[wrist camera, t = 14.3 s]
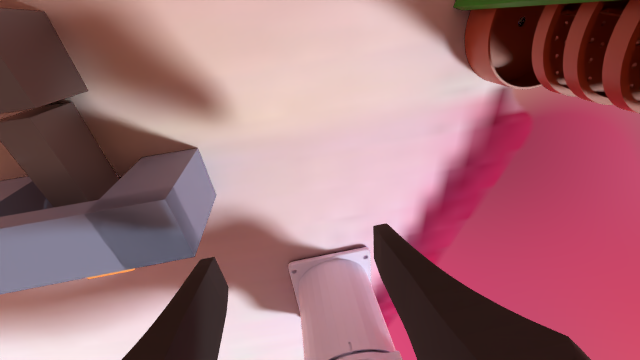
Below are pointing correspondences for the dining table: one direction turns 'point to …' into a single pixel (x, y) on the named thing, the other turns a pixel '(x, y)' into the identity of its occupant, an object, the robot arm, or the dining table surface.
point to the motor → (558, 47)
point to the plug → (47, 113)
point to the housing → (105, 224)
